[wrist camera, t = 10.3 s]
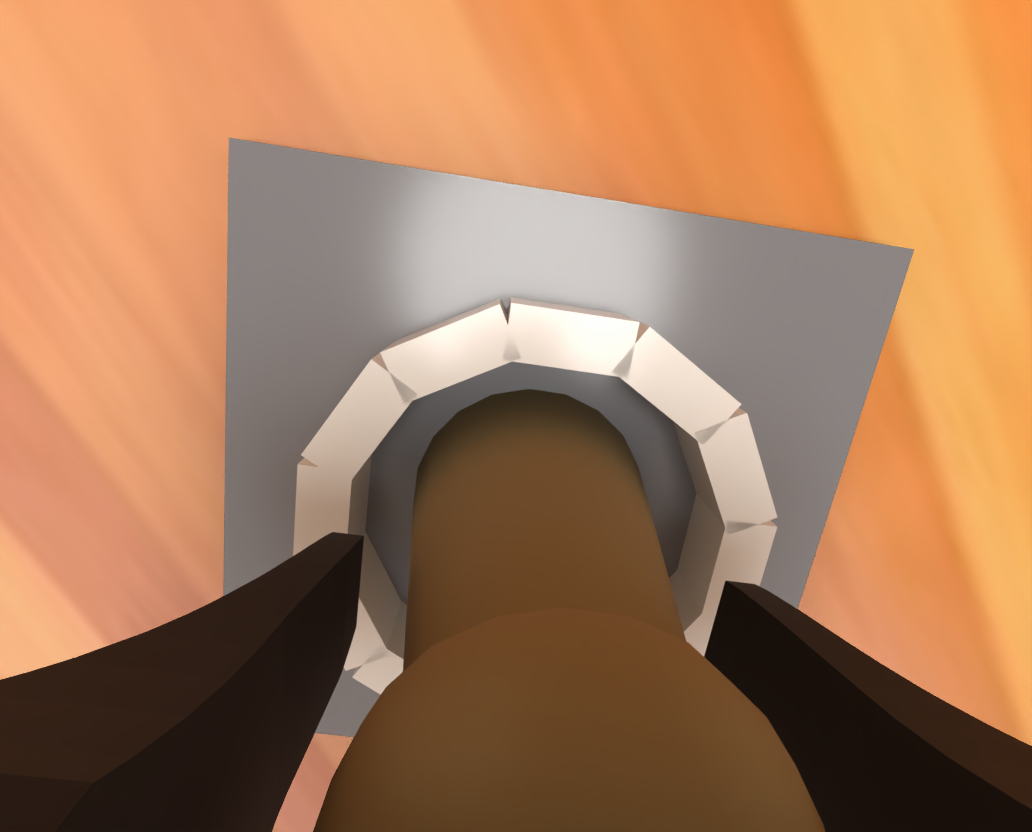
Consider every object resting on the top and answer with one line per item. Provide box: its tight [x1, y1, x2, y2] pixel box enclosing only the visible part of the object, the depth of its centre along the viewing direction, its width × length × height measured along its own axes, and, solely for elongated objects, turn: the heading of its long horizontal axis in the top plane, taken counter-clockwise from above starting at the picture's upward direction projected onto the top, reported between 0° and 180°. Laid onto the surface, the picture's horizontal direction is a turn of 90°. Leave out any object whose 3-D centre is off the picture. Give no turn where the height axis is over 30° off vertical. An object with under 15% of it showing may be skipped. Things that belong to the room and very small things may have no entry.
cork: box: [313, 389, 825, 832], centre depth 9 cm, size 6×6×11 cm
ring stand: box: [224, 138, 914, 737], centre depth 14 cm, size 16×16×3 cm
